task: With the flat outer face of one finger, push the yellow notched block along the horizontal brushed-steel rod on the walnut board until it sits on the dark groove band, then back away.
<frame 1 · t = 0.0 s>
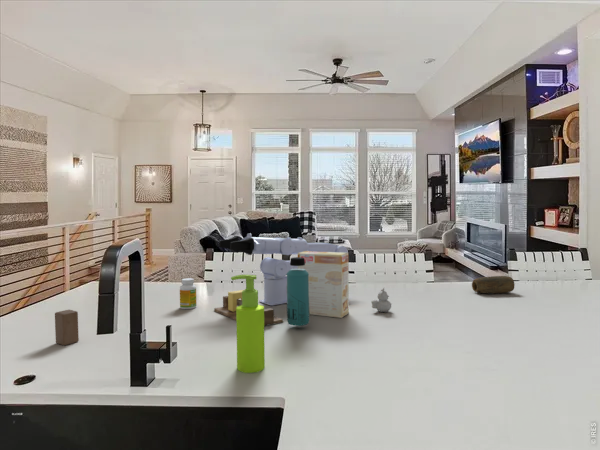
hand: (225, 244, 141), 22 cm above the worktop, tool horizontal, fingers open, 7 cm apart
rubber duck: (381, 312, 140), on the worktop
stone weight: (492, 293, 167), on the worktop
coffeecake box: (323, 314, 138), on the worktop
wooden block: (67, 343, 110), on the worktop
soap dispenser: (248, 368, 93), on the worktop
rail: (246, 316, 135), on the worktop
supplement bottle: (188, 308, 147), on the worktop
yellow notched block: (238, 300, 139), point 4 cm above the worktop, slide at -5.0 cm
beverage bottle: (298, 328, 122), on the worktop
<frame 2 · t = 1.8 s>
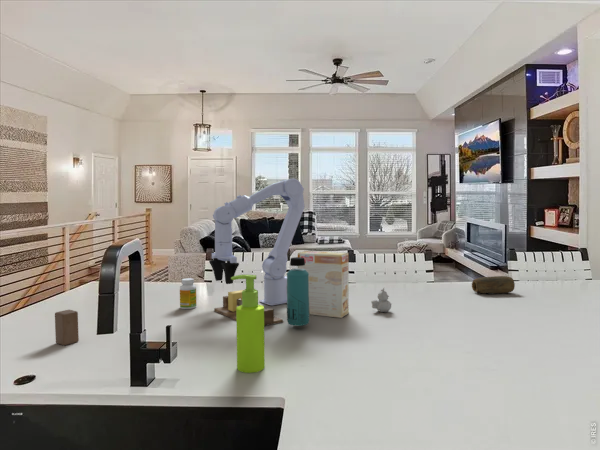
hand: (224, 282, 147), 9 cm above the worktop, tool pointing down, fingers open, 7 cm apart
nothing on the worktop moved.
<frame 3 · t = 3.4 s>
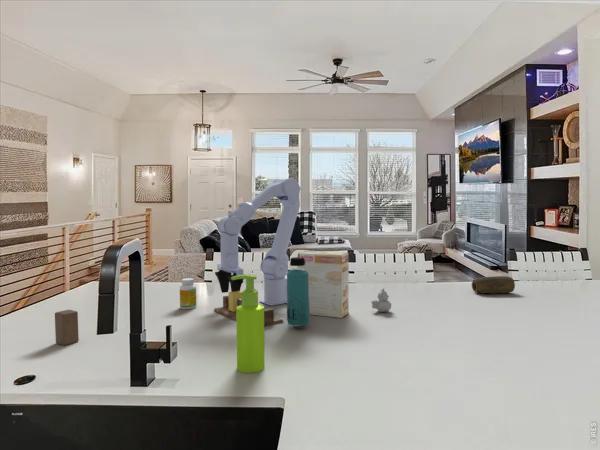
hand: (230, 294, 144), 5 cm above the worktop, tool pointing down, fingers open, 7 cm apart
yellow notched block: (239, 300, 139), point 4 cm above the worktop, slide at -4.7 cm, touching gripper
everything else where it was.
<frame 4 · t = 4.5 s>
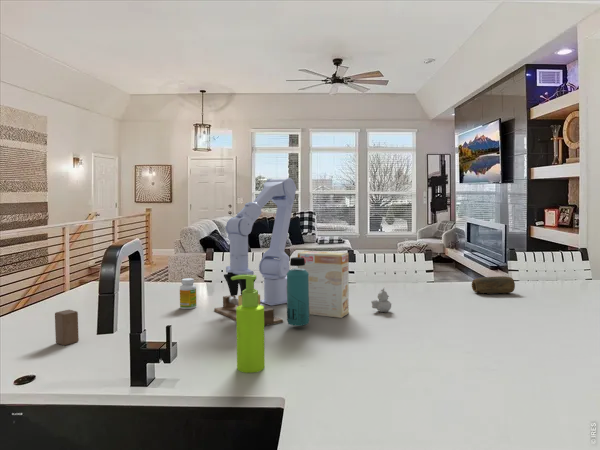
hand: (239, 297, 138), 5 cm above the worktop, tool pointing down, fingers open, 7 cm apart
yellow notched block: (249, 304, 134), point 4 cm above the worktop, slide at 1.7 cm, touching gripper
everything else where it was.
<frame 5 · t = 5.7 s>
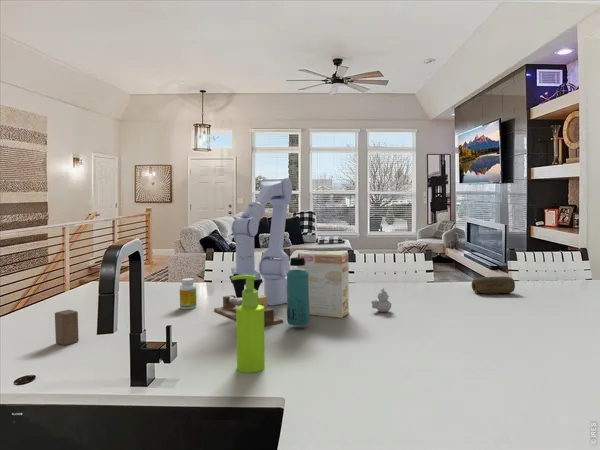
hand: (245, 299, 135), 5 cm above the worktop, tool pointing down, fingers open, 7 cm apart
yellow notched block: (256, 306, 130), point 4 cm above the worktop, slide at 5.6 cm, touching gripper
everything else where it was.
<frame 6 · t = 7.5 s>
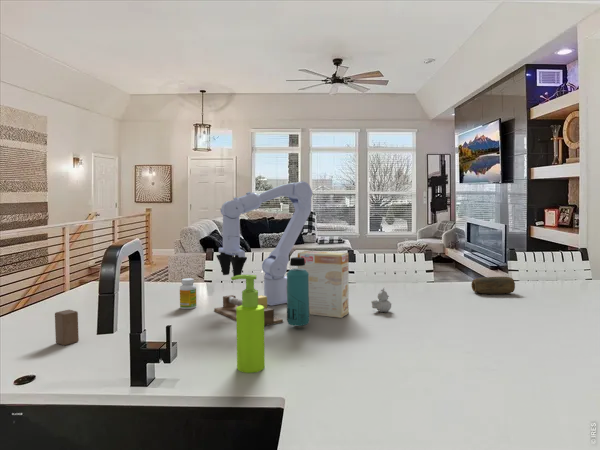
hand: (231, 276, 147), 10 cm above the worktop, tool pointing down, fingers open, 7 cm apart
yellow notched block: (256, 306, 130), point 4 cm above the worktop, slide at 5.6 cm
everything else where it was.
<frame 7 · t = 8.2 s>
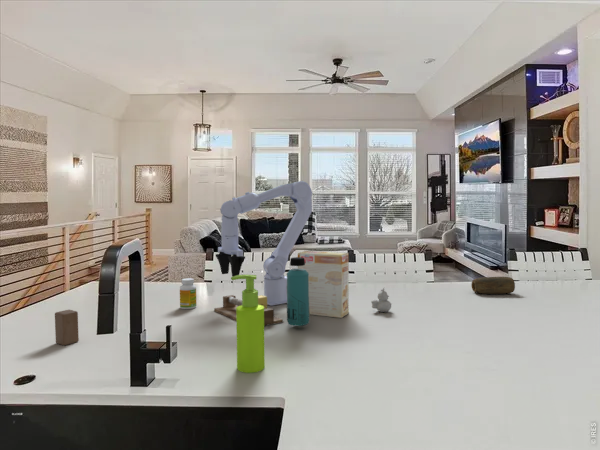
hand: (230, 275, 149), 10 cm above the worktop, tool pointing down, fingers open, 7 cm apart
nothing on the worktop moved.
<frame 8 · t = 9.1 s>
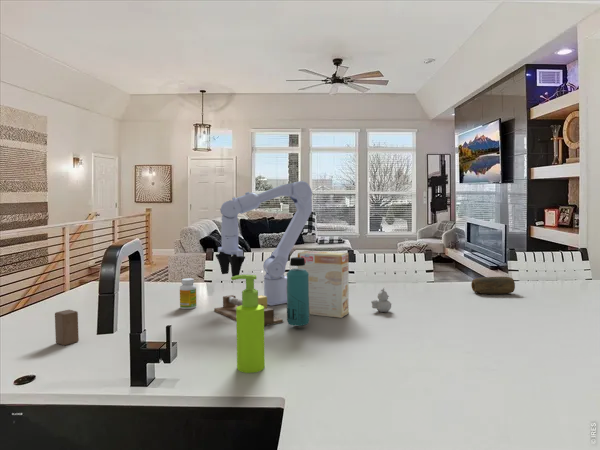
hand: (230, 275, 149), 10 cm above the worktop, tool pointing down, fingers open, 7 cm apart
at the end: yellow notched block slide at 5.6 cm; yellow notched block touching nothing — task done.
